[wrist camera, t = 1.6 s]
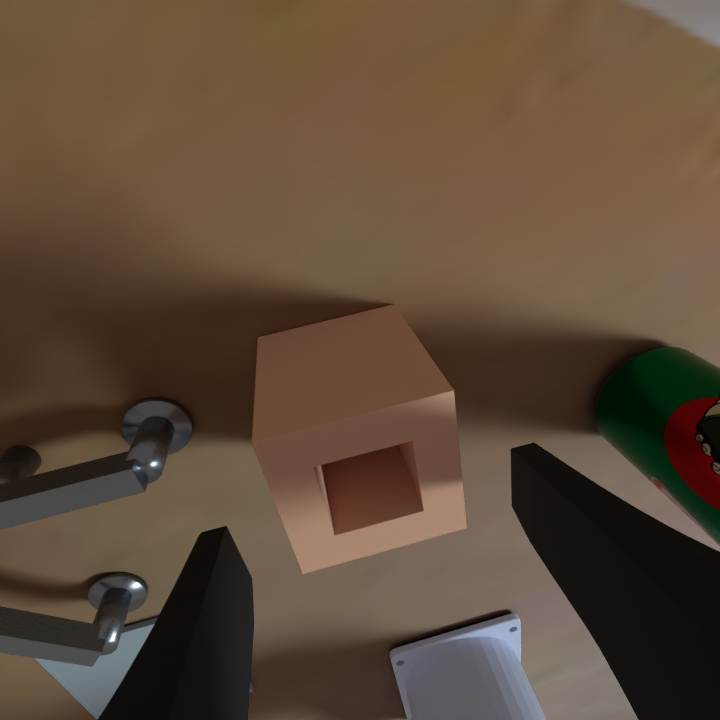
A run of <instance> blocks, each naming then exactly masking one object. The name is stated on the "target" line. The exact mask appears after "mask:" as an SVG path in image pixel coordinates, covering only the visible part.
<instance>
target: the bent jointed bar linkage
mask: <svg viewBox="0 0 720 720" xmlns="http://www.w3.org/2000/svg"><path fill="white" fill-rule="evenodd" d="M192 430H193V422H192V418H191V416H190V414H189V413H188V411H187V410H186V409H185V408H184V407H183V406H181V405H180V404H178V403H177V402H175V401H172V400H169V399H165V398H156V397H154V398H147V399H143V400H140V401H138V402H136V403H135V404H133V405H132V406H131V407H130V408H129V409H128V411H127V412H126V414H125V416H124V418H123V421H122V433H123V436H124V438H125V439H126V441H127V442H128V443H129V444H130V445H131V447H130V449H129V451H128V452H124V453H120V454H116V455H112V456H108V457H104V458H100V459H96V460H93V461H89V462H85V463H81V464H77V465H73V466H69V467H65V468H61V469H57V470H53V471H49V472H45V473H42V474H38V475H34V474H35V472H36V471H37V469H38V468H39V467H40V465H41V457H40V455H39V454H38V453H37V452H36V451H35V450H33V449H31V448H29V447H25V446H14V447H11V448H9V449H7V450H6V451H5V453H4V454H3V455H2V456H1V458H0V530H1V529H5V528H9V527H13V526H16V525H20V524H24V523H28V522H32V521H35V520H39V519H43V518H47V517H51V516H55V515H58V514H62V513H66V512H70V511H74V510H77V509H81V508H85V507H89V506H93V505H97V504H100V503H104V502H108V501H112V500H116V499H119V498H123V497H127V496H131V495H135V494H139V493H142V492H145V490H146V487H147V484H148V483H152V482H154V481H156V480H157V479H158V478H159V477H160V476H161V474H162V471H163V467H164V464H165V461H166V458H167V455H168V454H172V453H174V452H177V451H179V450H180V449H182V448H183V447H184V446H185V445H186V444H187V443H188V442H189V440H190V437H191V434H192ZM33 475H34V476H33ZM147 594H148V586H147V584H146V582H145V581H144V580H143V579H141V578H140V577H138V576H136V575H133V574H129V573H110V574H106V575H103V576H101V577H99V578H98V579H96V580H95V581H94V582H93V583H92V585H91V587H90V590H89V592H88V600H89V602H90V604H91V605H92V606H93V607H94V608H96V609H98V610H97V613H96V616H95V619H94V622H93V624H91V623H85V622H80V621H75V620H70V619H64V618H59V617H54V616H49V615H43V614H38V613H33V612H28V611H22V610H17V609H12V608H7V607H1V606H0V653H6V654H12V655H19V656H25V657H32V658H38V659H45V660H51V661H58V662H64V663H71V664H77V665H84V666H90V667H93V665H94V664H95V662H96V661H97V659H98V658H99V656H103V655H108V654H111V653H113V652H114V651H116V649H117V647H118V644H119V640H120V637H121V633H122V630H123V627H124V623H125V620H126V616H127V613H128V612H131V611H133V610H136V609H137V608H139V607H140V606H142V605H143V604H144V602H145V600H146V597H147Z"/></svg>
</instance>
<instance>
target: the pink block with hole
mask: <svg viewBox="0 0 720 720" xmlns="http://www.w3.org/2000/svg"><path fill="white" fill-rule="evenodd" d="M252 445H253V447H254V450H255V452H256V455H257V457H258V460H259V462H260V465H261V468H262V470H263V473H264V475H265V478H266V480H267V483H268V486H269V488H270V491H271V493H272V496H273V498H274V501H275V503H276V506H277V509H278V511H279V514H280V516H281V519H282V521H283V524H284V527H285V529H286V532H287V534H288V537H289V539H290V542H291V544H292V547H293V550H294V552H295V555H296V557H297V560H298V562H299V565H300V568H301V570H302V573H303V574H305V573H309V572H312V571H316V570H319V569H323V568H326V567H330V566H334V565H337V564H341V563H344V562H348V561H351V560H355V559H358V558H362V557H366V556H369V555H373V554H376V553H380V552H383V551H387V550H390V549H394V548H398V547H401V546H405V545H408V544H412V543H415V542H419V541H422V540H426V539H430V538H433V537H437V536H440V535H444V534H447V533H451V532H454V531H458V530H462V529H465V528H467V526H466V515H465V504H464V493H463V482H462V472H461V461H460V450H459V439H458V428H457V417H456V406H455V396H454V390H453V388H452V387H451V385H450V384H449V382H448V381H447V380H446V378H445V377H444V375H443V374H442V372H441V371H440V370H439V368H438V367H437V365H436V364H435V362H434V361H433V359H432V358H431V357H430V355H429V354H428V352H427V351H426V349H425V348H424V347H423V345H422V344H421V342H420V341H419V339H418V338H417V336H416V335H415V334H414V332H413V331H412V329H411V328H410V326H409V325H408V324H407V322H406V321H405V319H404V318H403V316H402V315H401V313H400V312H399V311H398V309H397V308H396V306H395V305H394V304H393V305H389V306H385V307H380V308H376V309H372V310H368V311H364V312H360V313H356V314H352V315H347V316H343V317H339V318H335V319H331V320H327V321H323V322H319V323H314V324H310V325H306V326H302V327H298V328H294V329H290V330H286V331H281V332H277V333H273V334H269V335H265V336H261V337H258V345H257V362H256V379H255V396H254V413H253V430H252Z"/></svg>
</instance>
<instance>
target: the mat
mask: <svg viewBox="0 0 720 720" xmlns="http://www.w3.org/2000/svg"><path fill="white" fill-rule="evenodd" d="M157 618H158V617H157ZM157 618H154V619H150V620H147V621H143V622H139V623H136V624H132V625H129V626H125V627H123V630H122V633H121V637H120V640H119V644H118V647H117V649H116V651H114V652H113V653H111V654H108V655H103V656H99V658H98V659H97V661H96V662H95V664H94V665H93V667H90V666H84V665H77V664H71V663H64V662H58V661H51V660H45V659H38V658H35V659H36V660H37V661H38V662H39V663H40V664H41V665H42V666H43V667H44V668H45V669H46V670H47V671H48V672H49V673H50V674H51V675H52V676H53V677H54V678H55V679H56V680H57V681H58V682H59V683H60V684H61V685H62V686H63V687H64V688H65V689H66V690H67V691H68V692H69V693H70V694H71V695H72V696H73V697H74V698H75V699H76V700H77V701H78V702H79V703H80V704H81V705H82V706H83V707H85V708H86V709H87V710H88V711H89V712H90V713H91V714H92V715H93V716H94V717H95V718H96V719H97V720H98V718H99V716H100V715H101V713H102V712H103V710H104V709H105V707H106V706H107V704H108V703H109V701H110V699H111V698H112V696H113V695H114V693H115V691H116V690H117V688H118V686H119V685H120V683H121V682H122V680H123V678H124V677H125V675H126V673H127V671H128V670H129V668H130V666H131V665H132V663H133V661H134V659H135V658H136V656H137V654H138V652H139V651H140V649H141V647H142V646H143V644H144V642H145V640H146V639H147V637H148V635H149V633H150V631H151V630H152V628H153V626H154V624H155V622H156V620H157ZM250 692H253V685H252V683H251V681H250ZM250 692H249V693H250Z"/></svg>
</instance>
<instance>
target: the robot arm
mask: <svg viewBox="0 0 720 720" xmlns="http://www.w3.org/2000/svg"><path fill="white" fill-rule="evenodd" d="M511 487H512V507H513V509H514V511H515V513H516V515H517V517H518V519H519V521H520V523H521V525H522V527H523V529H524V531H525V533H526V535H527V537H528V539H529V540H530V542H531V544H532V546H533V547H534V549H535V550H536V552H537V553H538V555H539V556H540V558H541V559H542V561H543V562H544V564H545V566H546V567H547V569H548V570H549V572H550V573H551V575H552V576H553V578H554V579H555V581H556V582H557V584H558V585H559V587H560V588H561V590H562V591H563V593H564V594H565V596H566V597H567V599H568V600H569V602H570V603H571V605H572V606H573V608H574V609H575V611H576V612H577V614H578V615H579V617H580V618H581V620H582V621H583V623H584V624H585V626H586V627H587V629H588V630H589V632H590V633H591V635H592V637H593V638H594V640H595V642H596V643H597V645H598V646H599V648H600V650H601V651H602V653H603V655H604V657H605V659H606V660H607V662H608V664H609V666H610V668H611V670H612V671H613V673H614V675H615V677H616V679H617V680H618V682H619V684H620V686H621V688H622V689H623V691H624V693H625V695H626V697H627V699H628V701H629V702H630V704H631V706H632V708H633V710H634V712H635V714H636V716H637V718H638V719H639V720H720V552H719V551H717V550H715V549H713V548H710V547H708V546H706V545H704V544H702V543H700V542H698V541H696V540H694V539H692V538H690V537H688V536H686V535H684V534H682V533H680V532H678V531H676V530H675V529H673V528H671V527H669V526H667V525H665V524H663V523H662V522H660V521H658V520H656V519H655V518H653V517H651V516H649V515H647V514H646V513H644V512H642V511H640V510H639V509H637V508H635V507H634V506H632V505H630V504H628V503H627V502H625V501H623V500H622V499H620V498H619V497H617V496H615V495H614V494H612V493H611V492H609V491H607V490H606V489H604V488H602V487H601V486H599V485H598V484H596V483H595V482H593V481H591V480H590V479H588V478H587V477H585V476H584V475H582V474H581V473H579V472H578V471H576V470H575V469H573V468H572V467H570V466H569V465H567V464H566V463H564V462H563V461H561V460H560V459H558V458H557V457H555V456H554V455H552V454H551V453H549V452H548V451H546V450H545V449H543V448H542V447H540V446H538V445H537V444H535V443H530V444H527V445H523V446H519V447H516V448H512V449H511ZM253 632H254V608H253V587H252V577H251V575H250V573H249V571H248V569H247V567H246V565H245V563H244V561H243V559H242V557H241V555H240V553H239V551H238V549H237V547H236V544H235V542H234V540H233V538H232V536H231V534H230V532H229V530H228V528H227V526H224V527H220V528H216V529H213V530H209V531H205V532H202V533H201V534H200V535H199V537H198V539H197V541H196V543H195V545H194V547H193V549H192V551H191V553H190V555H189V557H188V559H187V561H186V563H185V565H184V568H183V570H182V572H181V574H180V576H179V578H178V580H177V582H176V584H175V586H174V588H173V590H172V592H171V594H170V596H169V597H168V599H167V601H166V603H165V605H164V607H163V609H162V611H161V613H160V615H159V616H158V618H157V620H156V622H155V624H154V626H153V628H152V630H151V631H150V633H149V635H148V637H147V639H146V640H145V642H144V644H143V646H142V647H141V649H140V651H139V652H138V654H137V656H136V658H135V659H134V661H133V663H132V665H131V666H130V668H129V670H128V671H127V673H126V675H125V677H124V678H123V680H122V682H121V683H120V685H119V686H118V688H117V690H116V691H115V693H114V695H113V696H112V698H111V699H110V701H109V703H108V704H107V706H106V707H105V709H104V710H103V712H102V713H101V715H100V716H99V718H98V720H248V706H249V692H250V677H251V663H252V648H253ZM390 659H391V663H392V666H393V670H394V674H395V677H396V681H397V684H398V688H399V692H400V695H401V699H402V702H403V706H404V710H405V713H406V717H407V720H546V718H545V715H544V713H543V711H542V709H541V707H540V705H539V702H538V700H537V698H536V696H535V694H534V692H533V690H532V687H531V685H530V683H529V681H528V679H527V677H526V675H525V672H524V670H523V668H522V666H521V621H520V619H519V617H518V615H517V614H513V613H512V614H508V615H504V616H501V617H498V618H494V619H491V620H488V621H484V622H481V623H477V624H474V625H471V626H467V627H464V628H461V629H457V630H454V631H451V632H447V633H444V634H440V635H437V636H434V637H430V638H427V639H424V640H420V641H417V642H414V643H410V644H407V645H403V646H400V647H397V648H394V649H393V650H392V651H391V652H390Z"/></svg>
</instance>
